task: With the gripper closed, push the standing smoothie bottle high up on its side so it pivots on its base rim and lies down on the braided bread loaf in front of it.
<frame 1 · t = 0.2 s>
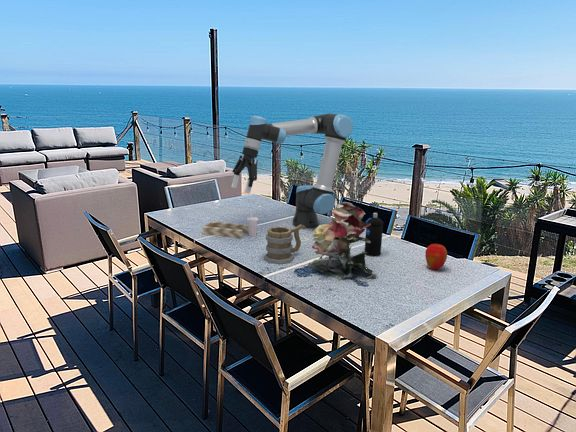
hand: (240, 190, 215), 27 cm above the table, tool tilted 15°, fingers open, 13 cm apart
braided bread loaf: (226, 233, 238), on the table
apple: (434, 269, 193), on the table
tankard: (286, 258, 203), on the table
rose bouquet: (340, 269, 191), on the table
smoothie: (252, 236, 234), on the table
aerosol can: (372, 254, 210), on the table
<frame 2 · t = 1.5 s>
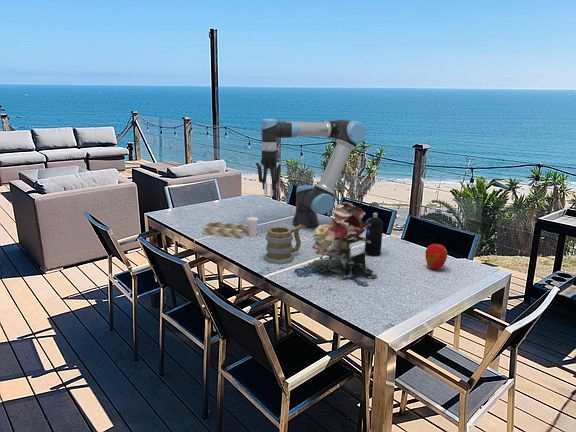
hand: (268, 195, 226), 23 cm above the table, tool pointing down, fingers open, 3 cm apart
nothing on the table moved.
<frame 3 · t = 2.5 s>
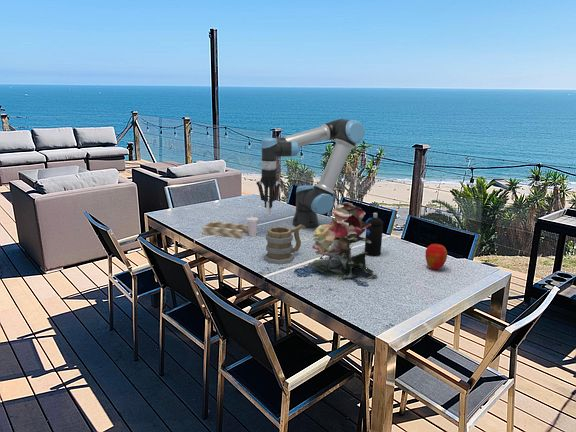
hand: (268, 213, 228), 13 cm above the table, tool pointing down, fingers closed
nothing on the table moved.
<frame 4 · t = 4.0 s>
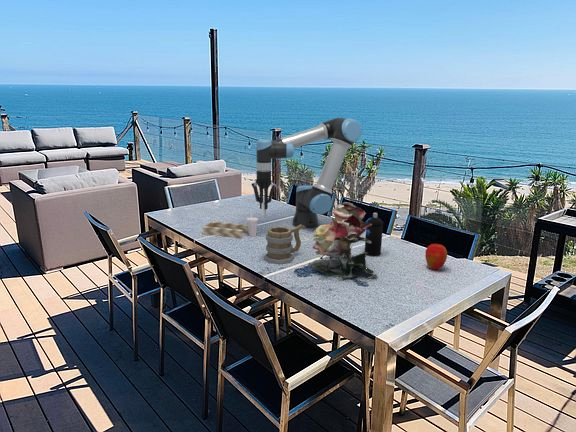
hand: (263, 215, 229), 12 cm above the table, tool pointing down, fingers closed
nothing on the table moved.
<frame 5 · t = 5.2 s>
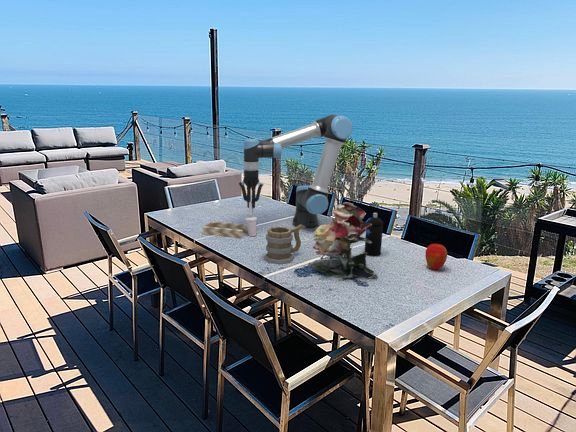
hand: (251, 213, 231), 12 cm above the table, tool pointing down, fingers closed
smoothie: (252, 235, 234), on the table, touching gripper
everything else where it was.
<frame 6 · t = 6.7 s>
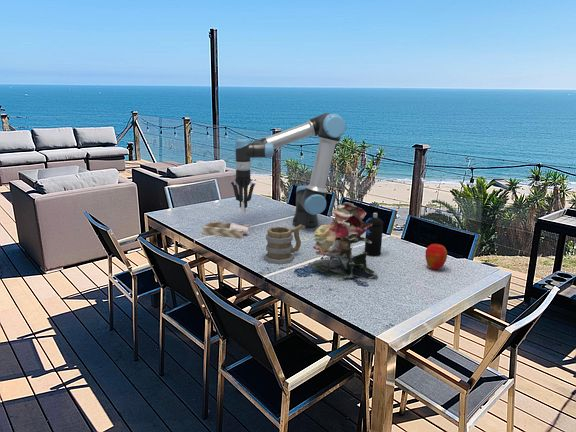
hand: (243, 213, 232), 12 cm above the table, tool pointing down, fingers closed
smoothie: (248, 230, 233), point 3 cm above the table, touching braided bread loaf
everything else where it was.
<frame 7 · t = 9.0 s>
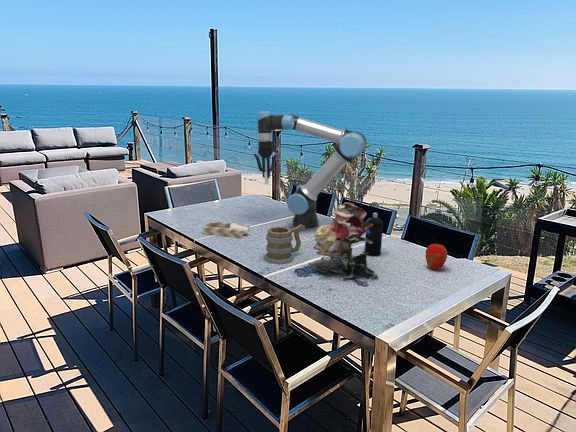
hand: (266, 183, 243), 25 cm above the table, tool pointing down, fingers closed
nothing on the table moved.
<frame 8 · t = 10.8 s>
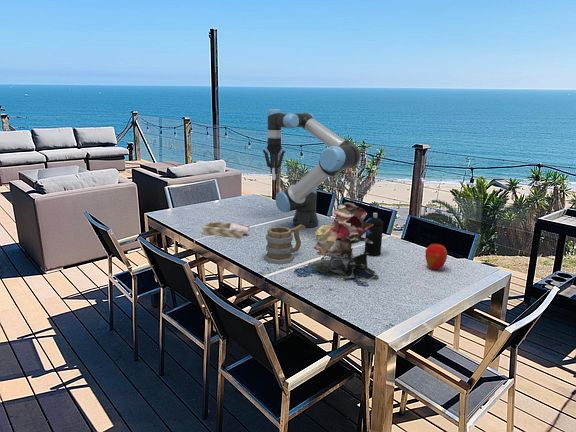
hand: (273, 179, 249), 26 cm above the table, tool pointing down, fingers closed
at the end: smoothie tilted 87°; smoothie inside the target area on the braided bread loaf (8.0 cm from its centre), point 2.6 cm above the braided bread loaf's base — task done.
